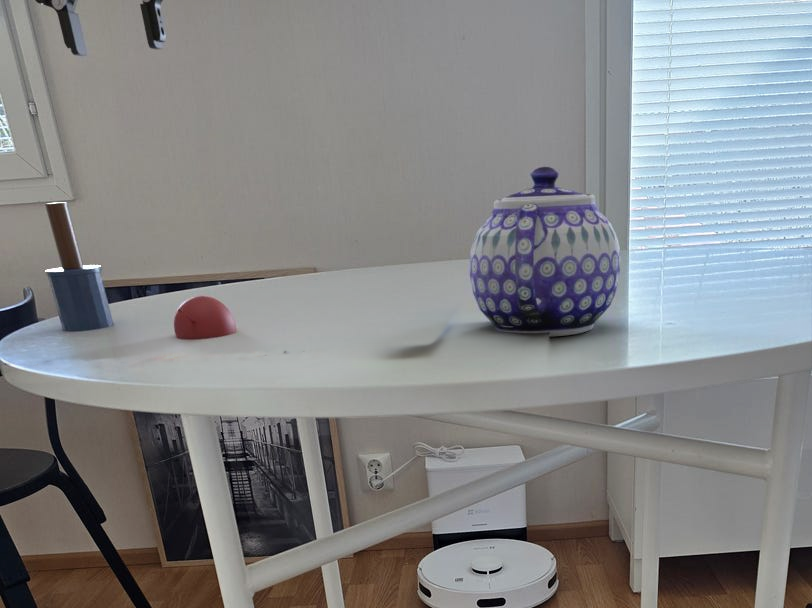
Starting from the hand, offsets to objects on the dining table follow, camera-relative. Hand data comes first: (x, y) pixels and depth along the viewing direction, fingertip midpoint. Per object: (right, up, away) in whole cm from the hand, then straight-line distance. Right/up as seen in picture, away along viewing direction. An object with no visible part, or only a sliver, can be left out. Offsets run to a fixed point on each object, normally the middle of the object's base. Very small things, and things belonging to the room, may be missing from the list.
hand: (117, 52), depth 90 cm
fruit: (+10, -33, -2) cm, 34 cm away
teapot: (+45, -30, -1) cm, 54 cm away
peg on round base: (-7, -21, +5) cm, 23 cm away
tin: (-6, -28, +8) cm, 30 cm away
